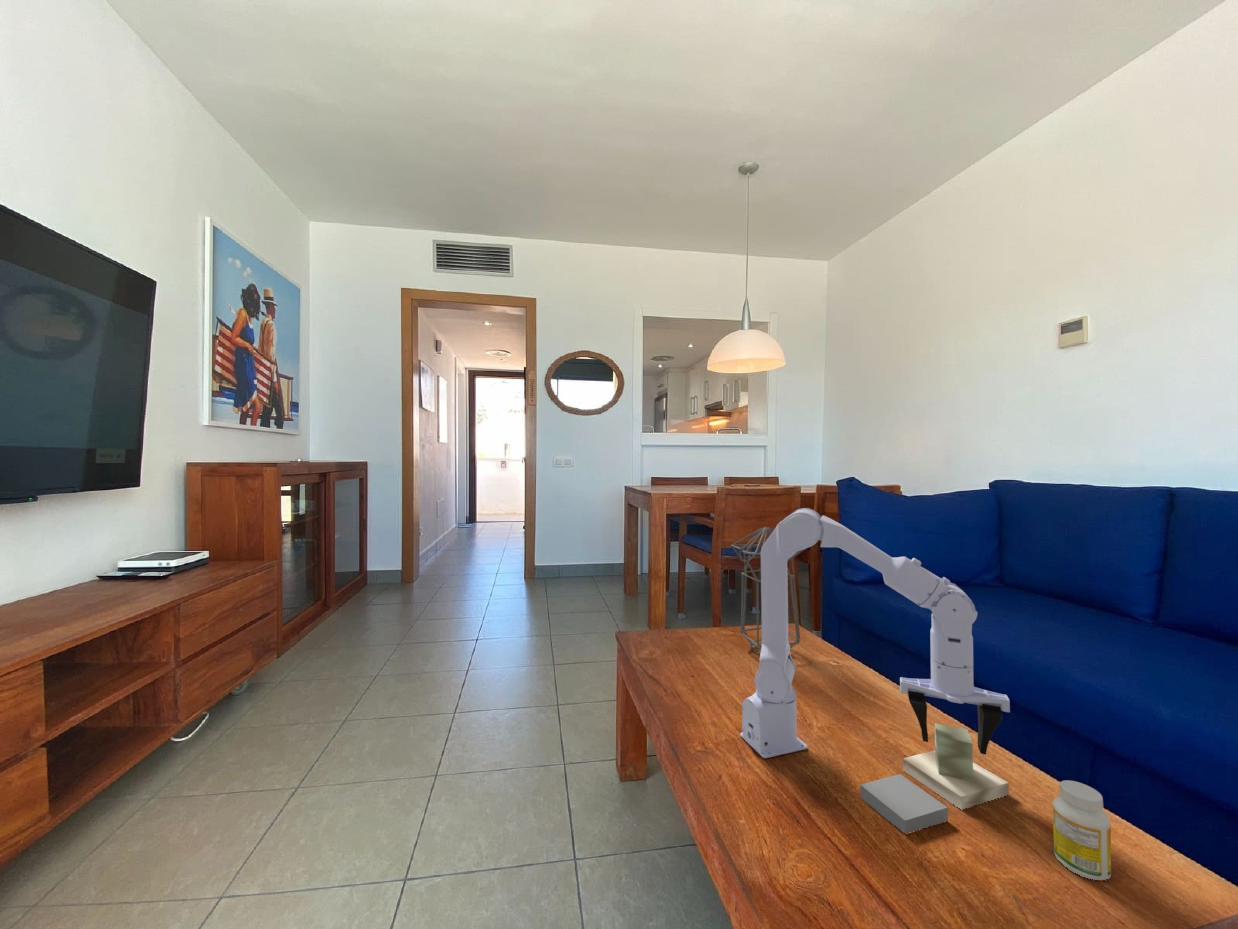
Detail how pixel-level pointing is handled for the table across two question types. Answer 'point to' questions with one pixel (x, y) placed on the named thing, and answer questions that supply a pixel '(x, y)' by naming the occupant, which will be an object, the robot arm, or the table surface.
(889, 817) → the slate grey block
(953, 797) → the pale ash block
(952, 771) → the sage green block
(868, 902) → the table surface
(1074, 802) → the supplement bottle
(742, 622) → the geometric lantern
